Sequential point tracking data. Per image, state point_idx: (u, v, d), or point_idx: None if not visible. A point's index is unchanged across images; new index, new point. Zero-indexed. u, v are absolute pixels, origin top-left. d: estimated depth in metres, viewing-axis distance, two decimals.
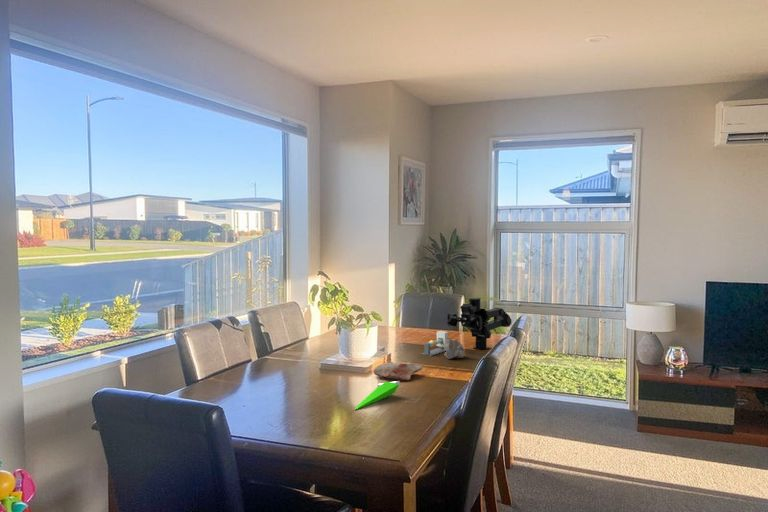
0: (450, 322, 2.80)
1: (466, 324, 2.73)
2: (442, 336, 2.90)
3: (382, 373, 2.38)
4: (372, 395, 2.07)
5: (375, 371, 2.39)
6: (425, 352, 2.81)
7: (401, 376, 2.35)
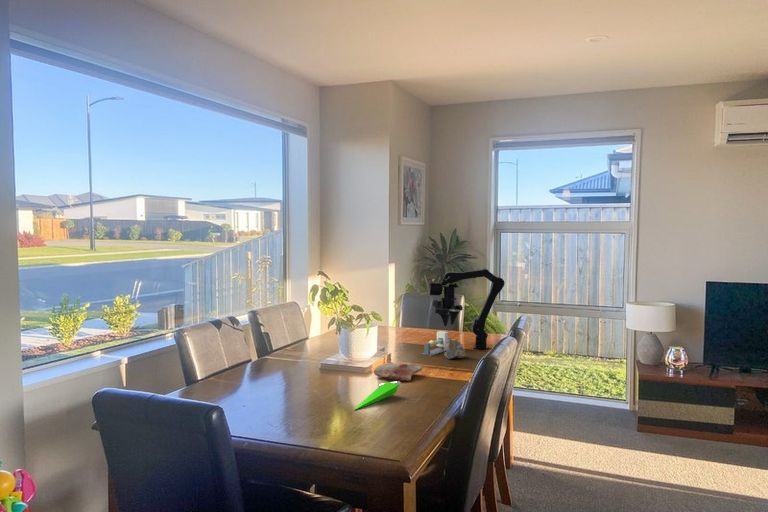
0: (452, 319, 2.99)
1: (444, 323, 2.93)
2: (442, 336, 2.90)
3: (383, 373, 2.37)
4: (372, 395, 2.07)
5: (375, 371, 2.38)
6: (425, 352, 2.81)
7: (402, 376, 2.34)
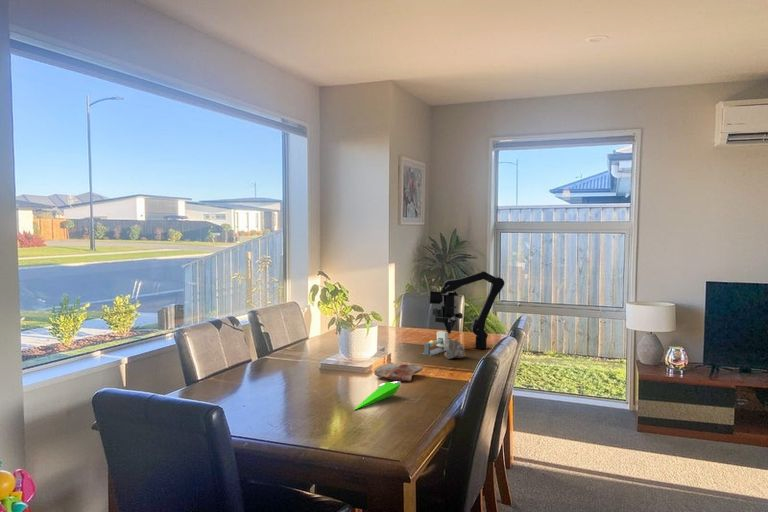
0: None
1: (447, 330, 2.96)
2: (442, 336, 2.90)
3: (383, 374, 2.36)
4: (373, 395, 2.07)
5: (376, 372, 2.38)
6: (425, 352, 2.81)
7: (402, 377, 2.34)
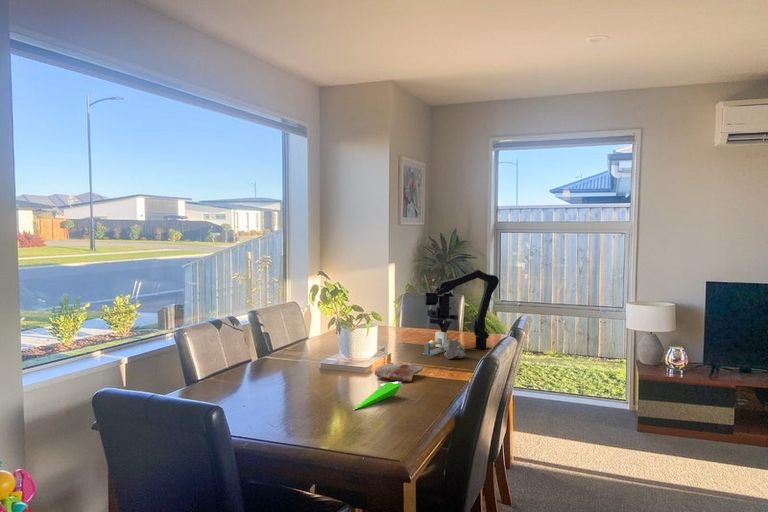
0: None
1: None
2: (440, 336, 2.89)
3: (383, 374, 2.36)
4: (373, 395, 2.07)
5: (376, 372, 2.37)
6: (425, 352, 2.81)
7: (403, 377, 2.33)
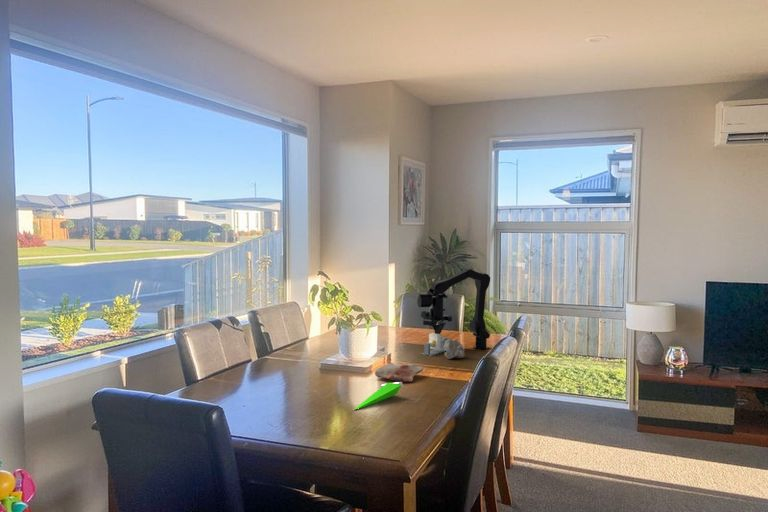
0: None
1: None
2: (434, 338, 2.84)
3: (384, 375, 2.35)
4: (373, 396, 2.06)
5: (377, 373, 2.36)
6: (425, 352, 2.81)
7: (404, 378, 2.32)
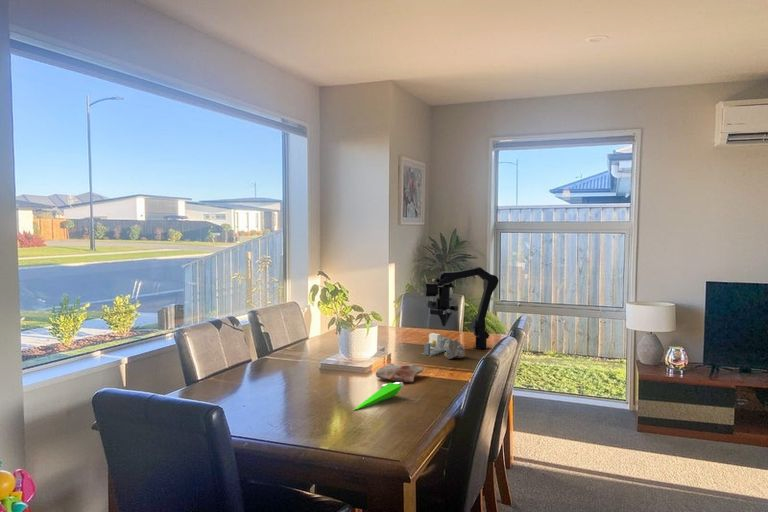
0: None
1: (442, 323, 2.91)
2: (434, 338, 2.84)
3: (385, 375, 2.34)
4: (374, 396, 2.06)
5: (378, 373, 2.35)
6: (425, 352, 2.81)
7: (405, 378, 2.32)
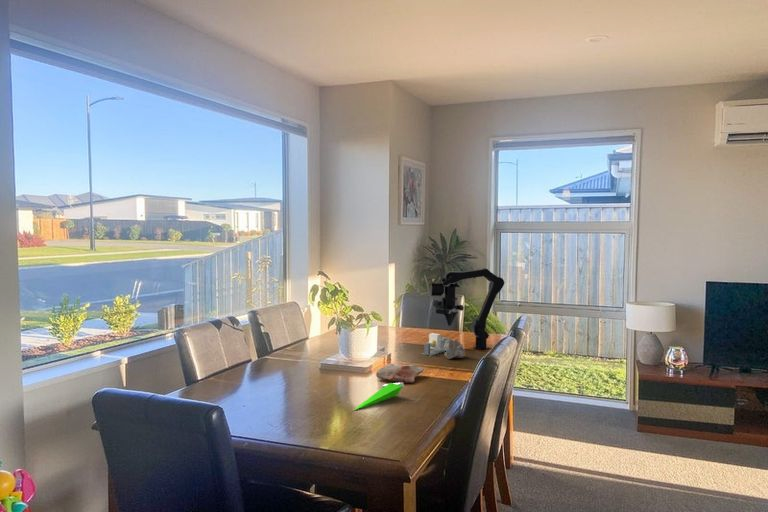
0: None
1: (448, 322, 2.93)
2: (434, 338, 2.84)
3: (385, 376, 2.33)
4: (374, 396, 2.06)
5: (378, 374, 2.35)
6: (425, 352, 2.81)
7: (405, 378, 2.31)
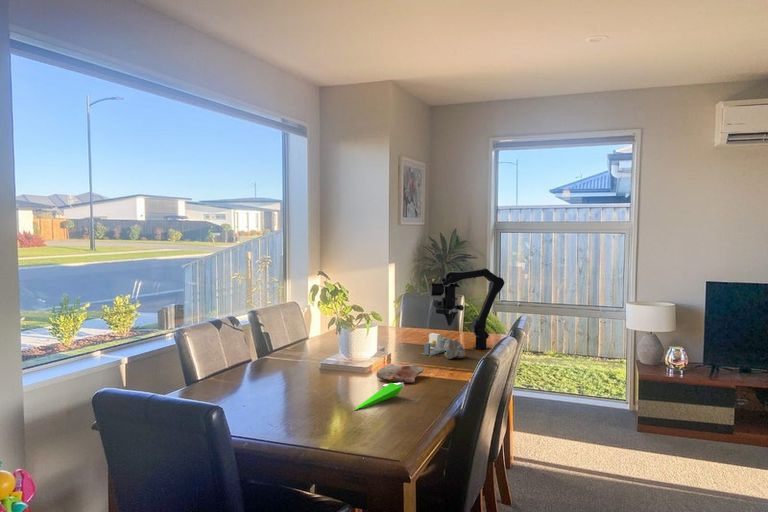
0: None
1: (448, 322, 2.93)
2: (434, 338, 2.84)
3: (386, 376, 2.33)
4: (374, 396, 2.06)
5: (378, 374, 2.34)
6: (425, 352, 2.81)
7: (406, 379, 2.31)
